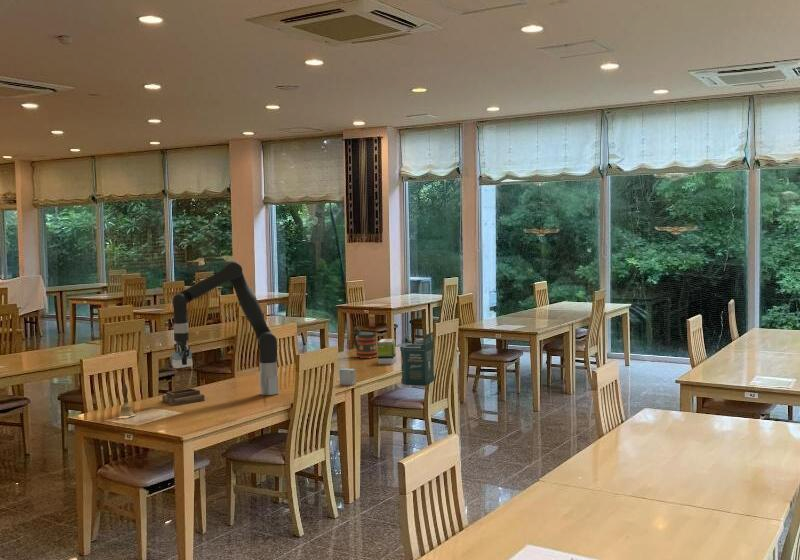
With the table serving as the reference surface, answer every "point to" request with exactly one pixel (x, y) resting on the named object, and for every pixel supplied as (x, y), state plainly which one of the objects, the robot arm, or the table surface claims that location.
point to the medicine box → (347, 377)
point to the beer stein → (365, 344)
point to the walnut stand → (183, 396)
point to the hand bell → (125, 403)
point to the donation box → (418, 362)
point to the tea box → (386, 351)
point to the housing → (178, 360)
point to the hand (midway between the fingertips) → (182, 364)
